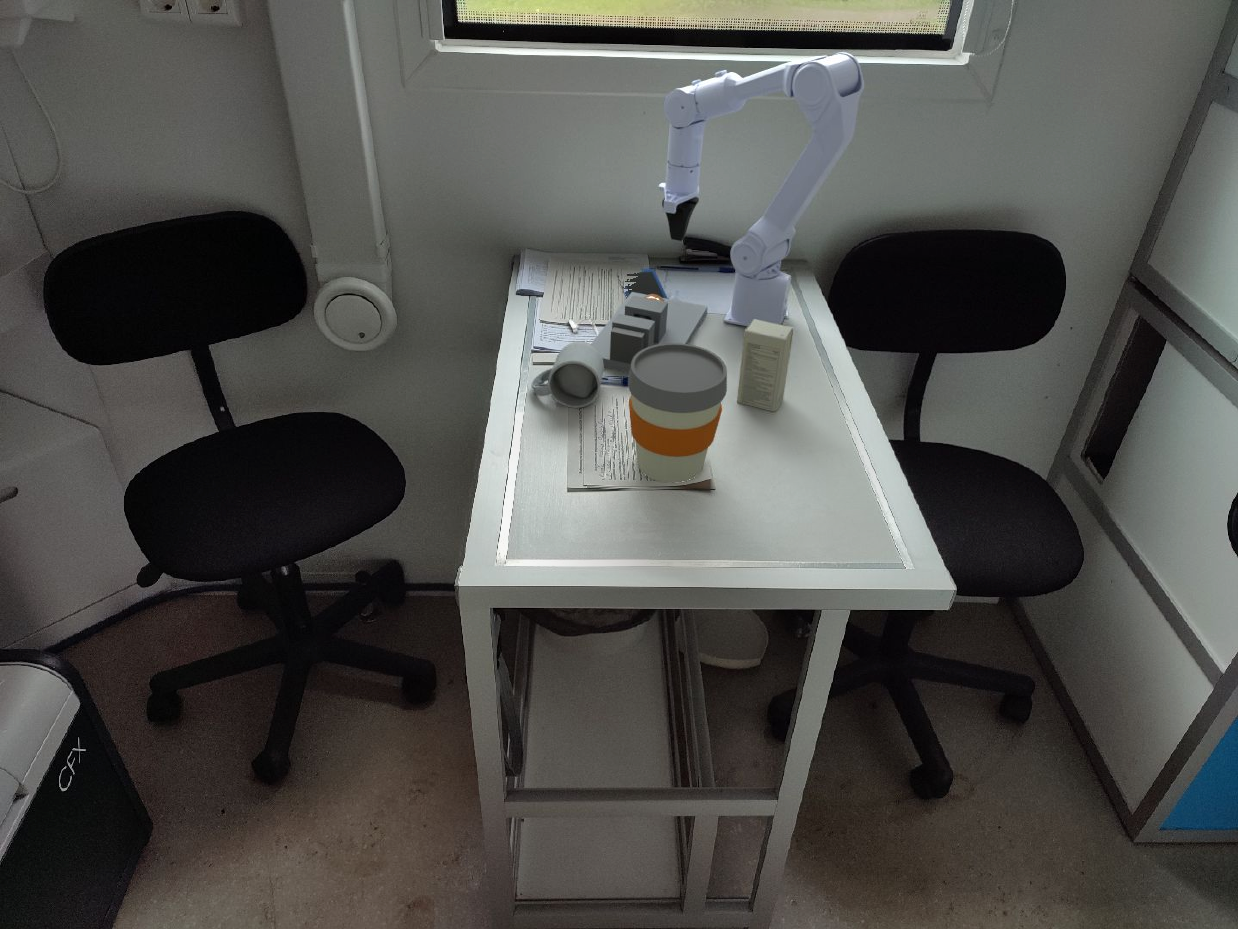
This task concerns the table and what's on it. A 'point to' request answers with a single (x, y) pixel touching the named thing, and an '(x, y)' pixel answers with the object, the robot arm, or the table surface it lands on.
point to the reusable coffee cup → (675, 408)
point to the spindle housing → (646, 328)
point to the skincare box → (764, 364)
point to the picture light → (579, 323)
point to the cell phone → (645, 283)
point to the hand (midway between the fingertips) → (677, 238)
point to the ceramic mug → (573, 376)
